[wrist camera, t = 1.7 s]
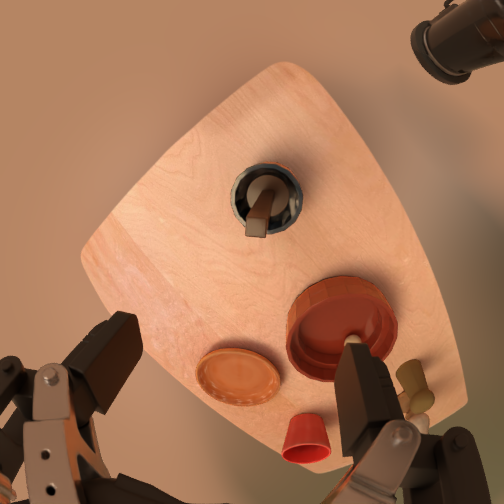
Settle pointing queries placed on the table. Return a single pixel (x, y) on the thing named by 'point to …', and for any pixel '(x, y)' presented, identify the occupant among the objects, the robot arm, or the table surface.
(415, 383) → the brown peg figure
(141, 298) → the table surface
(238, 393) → the saucer
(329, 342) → the bowl
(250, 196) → the wooden pestle
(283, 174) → the crock
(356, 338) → the dough ball
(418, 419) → the candle holder
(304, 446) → the flower pot
